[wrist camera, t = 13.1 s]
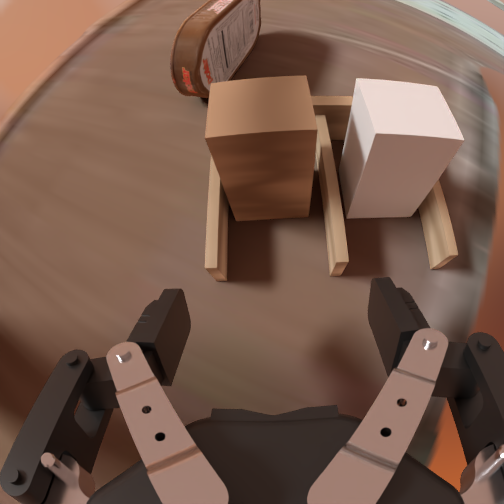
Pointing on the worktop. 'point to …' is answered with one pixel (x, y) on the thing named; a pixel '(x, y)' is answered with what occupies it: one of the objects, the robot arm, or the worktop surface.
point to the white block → (395, 147)
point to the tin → (213, 44)
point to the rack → (329, 201)
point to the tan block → (263, 145)
